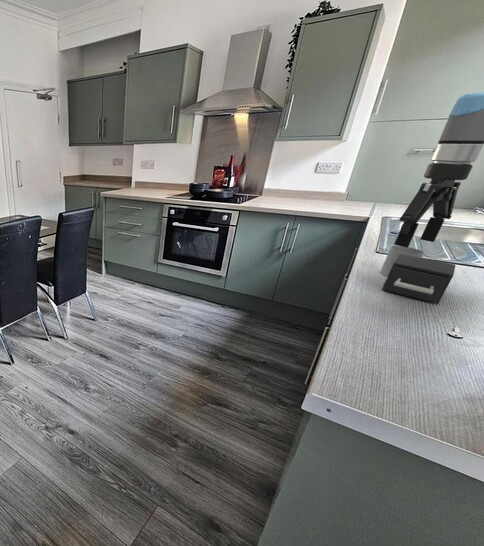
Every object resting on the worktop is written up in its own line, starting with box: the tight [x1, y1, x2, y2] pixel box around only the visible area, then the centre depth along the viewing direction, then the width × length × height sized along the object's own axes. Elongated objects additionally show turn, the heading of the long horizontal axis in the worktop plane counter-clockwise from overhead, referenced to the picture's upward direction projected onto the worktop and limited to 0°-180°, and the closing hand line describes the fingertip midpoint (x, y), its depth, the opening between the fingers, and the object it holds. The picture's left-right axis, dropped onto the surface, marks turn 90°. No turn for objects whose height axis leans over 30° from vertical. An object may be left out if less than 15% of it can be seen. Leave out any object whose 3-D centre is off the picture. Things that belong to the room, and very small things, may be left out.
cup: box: [379, 245, 425, 278], centre depth 111 cm, size 8×8×10 cm
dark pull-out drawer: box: [385, 266, 449, 302], centre depth 96 cm, size 18×11×8 cm, turn 130°
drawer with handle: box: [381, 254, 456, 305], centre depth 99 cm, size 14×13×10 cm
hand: (414, 243), depth 87 cm, fingers open, 13 cm apart
